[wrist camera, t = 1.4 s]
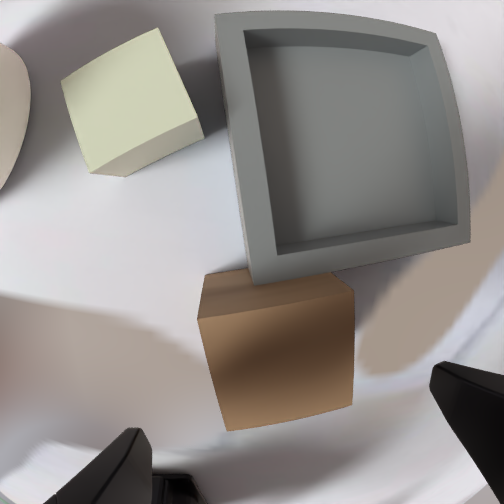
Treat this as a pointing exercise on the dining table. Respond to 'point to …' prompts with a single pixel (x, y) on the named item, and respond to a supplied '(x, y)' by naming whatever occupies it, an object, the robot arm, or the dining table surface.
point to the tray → (340, 141)
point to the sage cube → (130, 107)
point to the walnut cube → (277, 346)
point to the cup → (12, 108)
